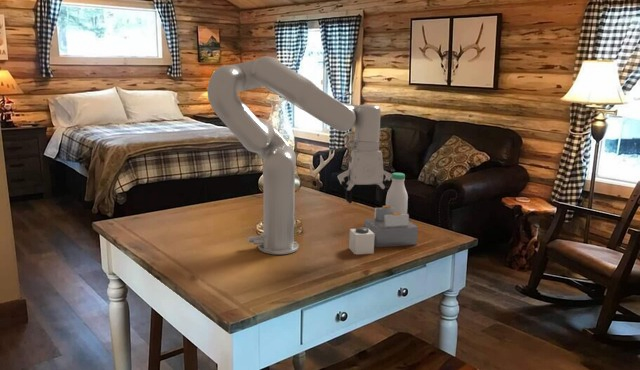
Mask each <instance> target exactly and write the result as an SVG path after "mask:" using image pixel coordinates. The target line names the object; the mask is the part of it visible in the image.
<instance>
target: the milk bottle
mask: <svg viewBox="0 0 640 370" xmlns="http://www.w3.org/2000/svg"><path fill="white" fill-rule="evenodd" d="M391 174H392V177H391V184H390V187H389V189H388V190H387V194H386V198H385V206H391V207H398V212H400V213H401V214H408V204H409V203H408V201H409V200H408V199H409V196H408V192H407V189H406V186H405V180H406V179H405V178H406V175H405V173H403V172H393V173H391Z"/></svg>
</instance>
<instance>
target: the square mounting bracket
mask: <svg viewBox="0 0 640 370" xmlns="http://www.w3.org/2000/svg"><path fill="white" fill-rule="evenodd" d="M409 219H410V215H409V213H407V214H401V213H400V212H398V207H391V206H386V205H382V207H374V217H373V218H364V226H363V227H365V228H368V229H370V230H371V231H372V232H373V233H374V234H375V236H374V247H376V248H386V247H401V246H403V247H404V246H417V245H418V236H419V235H418V234H419V233H418V232H419V226H417V224H414V222H412V221H410V220H409Z"/></svg>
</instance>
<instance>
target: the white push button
mask: <svg viewBox="0 0 640 370" xmlns="http://www.w3.org/2000/svg"><path fill="white" fill-rule="evenodd" d="M374 236H375V234H374V233H373V232H372V231H371V230H370V229H368V228H365V227H364V226H358V227H356V228H349V244H348V249H350V251H351V252H352V253H353V255H355V254H356V255H369V254H374V252H375V245H374Z"/></svg>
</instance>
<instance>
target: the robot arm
mask: <svg viewBox="0 0 640 370" xmlns="http://www.w3.org/2000/svg"><path fill="white" fill-rule="evenodd" d="M208 80H209V81H208V85H207V99H208V101H209V104H210V106H211V107H210V108H211V109H212V110H213V112H214V113H215V115H216V116H217V117H218V118H219V119H220V120H221V121H222V123H223V124H224V126H226V127H227V129H228V130H229V131H230V132H231V133H232V135H234V136H235V137H236V139H237V140H238V141H239V143H240V144H241V145H242V146H243V147H244V148H245V149H246V150H247V151H248V152H251V153H256V154H257V155H258V156H259V157H260V158H261V159H262V160H263V163H262V179H263V180H262V181H263V183H262V185H263V187H262V188H263V194H262V195H263V217H262V218H263V223H262V224H263V231H262V232H261V234H260V235H259V234H258V236H248V237H247V242H248V243H249V244H250V243H251V244H252V243H253V245H258V247H257V248H258V250H259V251H260V252H262V253H265V254H268V255H269V254H270V255H288V254H292V253H295V252H297V251H298V250H299V246H300V245H299V242H297V241H295V239H294V238H295V205H296V204H295V202H296V201H295V200H296V199H295V197H296V196H295V189H296V187H295V186H296V184H295V183H296V181H295V180H296V177H295V176H296V166H297V165H296V164H297V154H296V152H295V150H294V149H293V147H292V145H290V144H289V143H288V142H287V141H286V139H285V138H284V137H283V136H282V135H281V134H280V133H279V132H278V130H276V128H275V127H274V126H273V125H272V124H271V123H270V122H269V121H267V120H265V119H264V118H258V117H257V116H256V115H255V114H254V113H253V111H252V110H251V109H250V108H249V106H248V105H247V104H245V102H244V101H243V100H242V99H241V98H240V96H239V94H238V93H240V92H244V91H249V90H253V89H258V88H262V87H263V88H264V89H267V90H269V91H270V92H272V93H274V94H275V95H277V96H278V97H281V98H282V99H284V100H286V101H287V102H289V103H291V105H294V106H295V107H297V108H298V109H300V110H302V111H304V112H305V113H307V114H309V115H311V116H312V117H313V118H315V119H316V120H318V121H320V122H322V123H324V124H326V125H327V126H328V127H331V128H332V129H334V130H336V131H339V132H347V131H349V130H351V129H352V128H353V127H354V136H353V142H349V148H351V149H353V150H351V152H350V157H349V162H348V169H347V170H345V171H343V172H342V173H340V174H338V175H337V179H338V181H339V183H340V185H341V186H342V187H343V188H344V189H345V196H344V197H345V201H346V202H347V203H348V204H352V203H353V190H352V189H353V187H354V186H355V185H356V186H357V185H358V186H361V185H363V186H364V185H367V186H368V185H376V186H377V187H376V188H375V189H376V191H375V200H376V201H377V202H380V203H382V201H383V199H384V189H385V188H386V186H388V185H389V184H390V181H391V180H392V173H391V172H388V171H386V170H384V162H383V161H384V160H383V154H382V153H383V152H382V151H381V150H380V136H381V135H380V134H381V115H382V113H381V110H382V109H381V107H380V106H378V105H376V104H359V105H358V104H353V103H345V102H341V101H339V100H338V99H336V98H334V97H333V96H331V95H329V94H328V93H326V92H325V91H324V90H322V89H320V88H319V87H318V86H317V85H316V84H315V83H313V81H311V79H310V80H309V79H308V78H307V77H306V76H303V75H302V74H300V73H298V72H297V71H295V70H293V69H291V68H289V67H288V66H287V65H285V64H283V63H281V62H280V61H278V60H277V59H276V58H275V57H273V56H267V55H265V56H260V57H259V58H258V59H257V58H256V59H252V60H249V61H245V62H240V63H233V64H230V65H229V64H227V65H221V66H219V67H218V68H216V69H215V70H214V71H213V73H212V74H211V75H210V78H209V79H208ZM384 176H385V177H384ZM346 177H347V179H348V181H347V182H345V178H346Z"/></svg>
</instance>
